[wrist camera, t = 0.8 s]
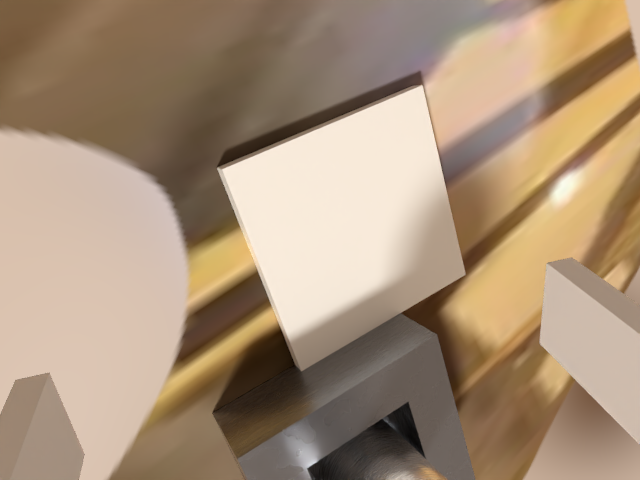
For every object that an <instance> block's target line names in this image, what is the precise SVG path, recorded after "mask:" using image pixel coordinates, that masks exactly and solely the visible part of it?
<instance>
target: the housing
mask: <svg viewBox="0 0 640 480" xmlns="http://www.w3.org/2000/svg"><path fill="white" fill-rule="evenodd" d="M213 415H214V417H215V419H216V422H217V424H218V426H219V428H220V430H221V432H222V434H223V436H224V438H225V440H226V442H227V444H228V446H229V448H230V450H231V452H232V454H233V456H234V458H235V460H236V462H237V464H238V466H239V468H240V470H241V472H242V475H243V477H244V479H245V480H316V478H315V477H314V476H313V474H312V473H311V472H310V470H309V468H308V467H310V466H311V465H313V464H314V463H316V462H317V461H319V460H320V459H322V458H323V457H325V456H326V455H328V454H329V453H331V452H332V451H334V450H335V449H337V448H339V447H340V446H342V445H343V444H345V443H346V442H348V441H349V440H351V439H352V438H354V437H355V436H357V435H358V434H360V433H361V432H363V431H364V430H366V429H367V428H369V427H370V426H372V425H373V424H375V423H376V422H378V421H379V420H381V419H383V420H384V421H385V422H387V423H388V424H389V425H390V426H391V427H392V428H393V429H394V430H395V431H396V432H397V433H398V434H399V435H401V436H402V437H403V438H404V439H405V440H406V441H407V442H408V443H409V444H410V445H411V446H412V447H413V448H415V449H416V450H417V451H418V452H419V453H420V454H421V455H422V456H423V457H424V458H425V459H426V460H427V461H428V462H430V463H431V464H432V465H433V466H434V467H435V468H436V469H437V470H438V471H439V472H440V473H441V474H442V475H444V476H445V477H446V478H447V479H448V480H475V476H474V472H473V469H472V465H471V461H470V457H469V454H468V450H467V446H466V442H465V438H464V435H463V431H462V427H461V423H460V420H459V416H458V412H457V408H456V404H455V401H454V397H453V393H452V389H451V385H450V382H449V378H448V374H447V370H446V367H445V363H444V359H443V355H442V351H441V348H440V344H439V340H438V336H437V334H435V333H433V332H432V331H430V330H428V329H427V328H425V327H423V326H421V325H420V324H418V323H416V322H415V321H413V320H411V319H409V318H408V317H406V316H404V315H403V314H401V313H400V314H398V315H396V316H395V317H393V318H391V319H390V320H388V321H386V322H384V323H383V324H381V325H379V326H378V327H376V328H374V329H373V330H371V331H369V332H367V333H366V334H364V335H362V336H361V337H359V338H357V339H356V340H354V341H352V342H350V343H349V344H347V345H345V346H344V347H342V348H340V349H339V350H337V351H335V352H333V353H332V354H330V355H328V356H327V357H325V358H323V359H322V360H320V361H318V362H317V363H315V364H313V365H311V366H310V367H308V368H306V369H305V370H303V371H301V370H300V369H299V368H298V367H297V366H296V365H294V366H292V367H291V368H289V369H287V370H285V371H284V372H282V373H280V374H279V375H277V376H275V377H273V378H272V379H270V380H268V381H267V382H265V383H263V384H261V385H260V386H258V387H256V388H254V389H253V390H251V391H249V392H248V393H246V394H244V395H242V396H241V397H239V398H237V399H236V400H234V401H232V402H230V403H229V404H227V405H225V406H224V407H222V408H220V409H218V410H217V411H215V412H213Z"/></svg>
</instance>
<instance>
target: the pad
mask: <svg viewBox="0 0 640 480" xmlns="http://www.w3.org/2000/svg"><path fill="white" fill-rule="evenodd" d="M217 169H218V172H219V174H220V177H221V179H222V182H223V184H224V187H225V189H226V192H227V194H228V197H229V199H230V202H231V204H232V207H233V209H234V212H235V214H236V217H237V220H238V222H239V225H240V227H241V230H242V232H243V235H244V237H245V240H246V242H247V245H248V247H249V250H250V252H251V255H252V257H253V260H254V262H255V265H256V267H257V270H258V272H259V275H260V278H261V280H262V283H263V285H264V288H265V290H266V293H267V295H268V298H269V300H270V303H271V305H272V308H273V310H274V313H275V315H276V318H277V320H278V323H279V325H280V328H281V330H282V333H283V335H284V338H285V341H286V343H287V346H288V348H289V351H290V353H291V356H292V358H293V361H294V363H295V365H296V366H297V367H298V368H299V369H300V370H301V371H303V370H305V369H306V368H308V367H310V366H311V365H313V364H315V363H317V362H318V361H320V360H322V359H323V358H325V357H327V356H328V355H330V354H332V353H333V352H335V351H337V350H339V349H340V348H342V347H344V346H345V345H347V344H349V343H350V342H352V341H354V340H356V339H357V338H359V337H361V336H362V335H364V334H366V333H367V332H369V331H371V330H373V329H374V328H376V327H378V326H379V325H381V324H383V323H384V322H386V321H388V320H390V319H391V318H393V317H395V316H396V315H398V314H400V313H401V312H403V311H405V310H406V309H408V308H410V307H412V306H413V305H415V304H417V303H418V302H420V301H422V300H423V299H425V298H427V297H429V296H430V295H432V294H434V293H435V292H437V291H439V290H440V289H442V288H444V287H446V286H447V285H449V284H451V283H452V282H454V281H456V280H457V279H459V278H461V277H462V276H464V275H466V274H465V269H464V265H463V260H462V256H461V252H460V247H459V243H458V238H457V234H456V230H455V225H454V221H453V217H452V212H451V208H450V203H449V199H448V195H447V190H446V186H445V182H444V177H443V173H442V168H441V164H440V160H439V155H438V151H437V146H436V142H435V138H434V133H433V129H432V125H431V120H430V116H429V111H428V107H427V103H426V98H425V94H424V89H423V85H415V86H411V87H409V88H406V89H404V90H401V91H399V92H397V93H394V94H392V95H389V96H387V97H385V98H382V99H380V100H377V101H375V102H373V103H370V104H368V105H365V106H363V107H361V108H358V109H356V110H353V111H351V112H349V113H346V114H344V115H341V116H339V117H337V118H334V119H332V120H330V121H327V122H325V123H322V124H320V125H318V126H315V127H313V128H310V129H308V130H306V131H303V132H301V133H298V134H296V135H294V136H291V137H289V138H286V139H284V140H282V141H279V142H277V143H274V144H272V145H270V146H267V147H265V148H263V149H260V150H258V151H255V152H253V153H251V154H248V155H246V156H243V157H241V158H239V159H236V160H234V161H231V162H229V163H227V164H224V165H222V166H219V167H217Z"/></svg>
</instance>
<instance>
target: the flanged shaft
mask: <svg viewBox="0 0 640 480" xmlns="http://www.w3.org/2000/svg"><path fill="white" fill-rule="evenodd" d="M308 468H309V470H310V472H311V473H312V474H313V476H314V477H315V478H316V480H448V479H447V478H446V477H445V476H444V475H442V474H441V473H440V472H439V471H438V470H437V469H436V468H435V467H434V466H433V465H432V464H431V463H430V462H428V461H427V460H426V459H425V458H424V457H423V456H422V455H421V454H420V453H419V452H418V451H417V450H416V449H415V448H413V447H412V446H411V445H410V444H409V443H408V442H407V441H406V440H405V439H404V438H403V437H402V436H401V435H399V434H398V433H397V432H396V431H395V430H394V429H393V428H392V427H391V426H390V425H389V424H388V423H387V422H385V421H384V420H383V419H381V420H379V421H378V422H376V423H375V424H373V425H372V426H370V427H369V428H367V429H366V430H364V431H363V432H361V433H360V434H358V435H357V436H355V437H354V438H352V439H351V440H349V441H348V442H346V443H345V444H343V445H342V446H340V447H339V448H337V449H335V450H334V451H332V452H331V453H329V454H328V455H326V456H325V457H323V458H322V459H320V460H319V461H317V462H316V463H314V464H313V465H311V466H310V467H308Z"/></svg>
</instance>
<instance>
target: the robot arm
mask: <svg viewBox="0 0 640 480" xmlns="http://www.w3.org/2000/svg"><path fill="white" fill-rule="evenodd" d="M540 344H541V345H542V346H543V347H544V348H545V349H546V350H547V351H548V352H549V353H550V355H551V356H552V357H553V358H554V359H555V360H556V361H557V362H558V363H559V364H560V365H561V366H562V367H563V368H564V369H565V370H566V371H567V372H568V373H569V374H570V375H571V376H572V377H573V378H574V379H575V380H576V381H577V382H578V383H579V384H580V385H581V386H582V387H583V388H584V389H585V390H586V391H587V392H588V393H589V394H590V395H591V396H592V397H593V398H594V399H595V400H596V401H597V402H598V403H599V404H600V405H601V406H602V407H603V408H604V409H605V410H606V411H607V412H608V413H609V414H610V415H611V416H612V417H613V418H614V419H615V420H616V421H617V422H618V423H619V424H620V425H621V426H622V427H623V428H624V429H625V430H626V431H627V432H628V433H629V434H630V435H631V436H632V437H633V438H634V439H635V440H636V441H637V443H638V444H639V445H640V305H639V304H637V303H636V302H635V301H633V300H632V299H630V298H629V297H627V296H626V295H625V294H623V293H622V292H620V291H619V290H617V289H616V288H615V287H613V286H612V285H610V284H609V283H607V282H606V281H605V280H603V279H602V278H600V277H599V276H597V275H596V274H595V273H593V272H592V271H590V270H589V269H587V268H586V267H585V266H583V265H582V264H580V263H579V262H577V261H576V260H575V259H573V258H567V259H563V260H558V261H553V262H549V263H547V265H546V276H545V287H544V298H543V310H542V321H541V332H540ZM83 459H84V452H83V449H82V447H81V445H80V443H79V440H78V438H77V436H76V433H75V431H74V429H73V427H72V424H71V422H70V419H69V417H68V415H67V412H66V410H65V408H64V406H63V403H62V401H61V399H60V396H59V394H58V392H57V390H56V387H55V385H54V382H53V380H52V378H51V376H50V373H45V374H41V375H36V376H32V377H27V378H22V379H18V380H15V383H14V385H13V387H12V389H11V392H10V394H9V396H8V398H7V400H6V403H5V405H4V407H3V410H2V412H1V414H0V480H79V477H80V472H81V468H82V464H83Z"/></svg>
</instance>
